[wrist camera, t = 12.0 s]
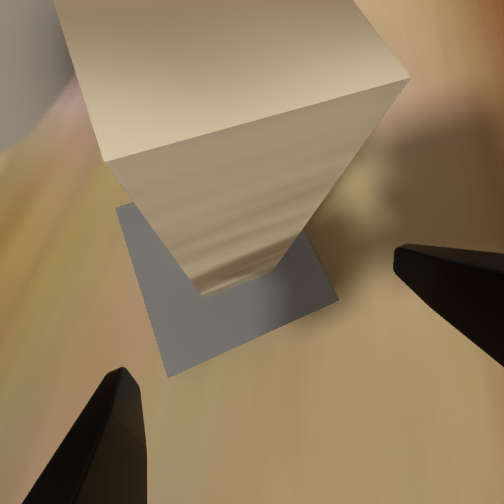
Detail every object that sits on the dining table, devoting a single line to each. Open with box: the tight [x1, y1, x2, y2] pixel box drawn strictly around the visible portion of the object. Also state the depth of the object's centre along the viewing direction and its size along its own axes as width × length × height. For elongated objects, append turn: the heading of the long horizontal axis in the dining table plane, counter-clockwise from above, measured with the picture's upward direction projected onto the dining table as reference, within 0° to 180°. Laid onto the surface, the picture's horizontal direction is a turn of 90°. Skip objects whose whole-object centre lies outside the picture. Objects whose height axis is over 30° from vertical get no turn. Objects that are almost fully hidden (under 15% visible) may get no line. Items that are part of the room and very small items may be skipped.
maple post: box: [53, 0, 411, 299], centre depth 10 cm, size 5×5×13 cm
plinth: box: [116, 202, 339, 378], centre depth 18 cm, size 11×11×2 cm
